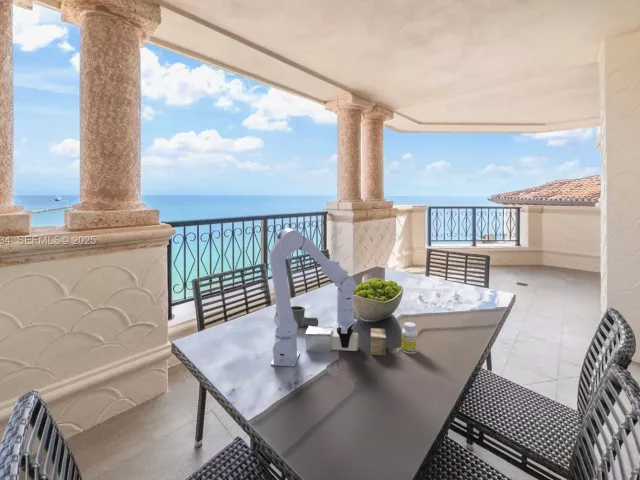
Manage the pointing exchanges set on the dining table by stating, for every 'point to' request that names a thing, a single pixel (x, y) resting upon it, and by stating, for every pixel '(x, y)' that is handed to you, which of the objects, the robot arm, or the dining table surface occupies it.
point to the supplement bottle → (409, 338)
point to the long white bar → (337, 343)
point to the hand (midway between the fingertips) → (345, 344)
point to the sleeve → (318, 339)
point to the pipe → (300, 319)
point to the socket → (378, 342)
